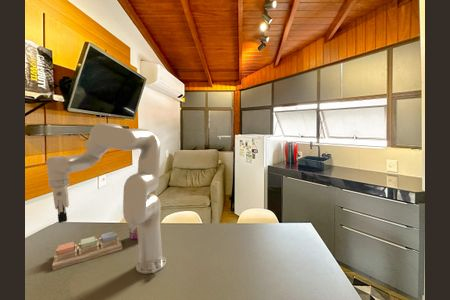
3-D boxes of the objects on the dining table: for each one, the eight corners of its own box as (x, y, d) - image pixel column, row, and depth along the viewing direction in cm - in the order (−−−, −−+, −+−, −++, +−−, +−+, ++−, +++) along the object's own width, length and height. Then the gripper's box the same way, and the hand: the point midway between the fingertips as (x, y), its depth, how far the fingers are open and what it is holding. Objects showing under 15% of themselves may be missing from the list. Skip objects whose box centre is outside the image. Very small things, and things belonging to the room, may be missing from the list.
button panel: (122, 249, 112) (121, 240, 112) (52, 270, 97) (51, 260, 96) (117, 238, 124) (117, 231, 123) (55, 256, 108) (54, 247, 108)
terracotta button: (74, 252, 104) (73, 246, 104) (58, 257, 101) (57, 250, 100) (74, 247, 109) (73, 241, 109) (59, 251, 106) (58, 245, 105)
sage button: (96, 246, 109) (95, 240, 109) (81, 250, 106) (81, 244, 106) (95, 241, 114) (94, 236, 114) (81, 245, 111) (80, 239, 110)
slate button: (116, 240, 114) (115, 235, 114) (103, 244, 111) (102, 238, 111) (114, 236, 119) (114, 231, 119) (101, 240, 116) (101, 234, 115)
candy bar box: (129, 239, 122) (127, 210, 121) (134, 235, 127) (132, 207, 126) (149, 240, 121) (147, 210, 120) (152, 235, 126) (150, 207, 125)
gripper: (68, 184, 98) (72, 224, 100) (69, 179, 110) (72, 214, 112) (47, 187, 94) (51, 229, 95) (50, 181, 106) (53, 218, 108)
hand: (62, 221), depth 104 cm, fingers closed
